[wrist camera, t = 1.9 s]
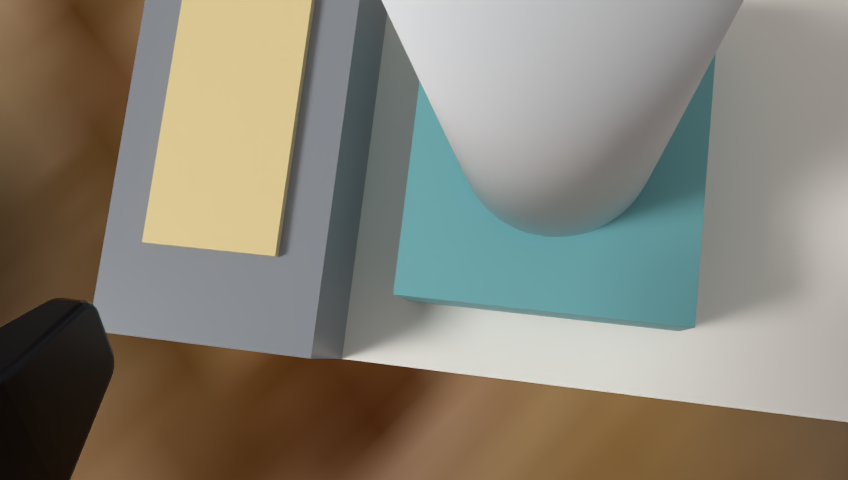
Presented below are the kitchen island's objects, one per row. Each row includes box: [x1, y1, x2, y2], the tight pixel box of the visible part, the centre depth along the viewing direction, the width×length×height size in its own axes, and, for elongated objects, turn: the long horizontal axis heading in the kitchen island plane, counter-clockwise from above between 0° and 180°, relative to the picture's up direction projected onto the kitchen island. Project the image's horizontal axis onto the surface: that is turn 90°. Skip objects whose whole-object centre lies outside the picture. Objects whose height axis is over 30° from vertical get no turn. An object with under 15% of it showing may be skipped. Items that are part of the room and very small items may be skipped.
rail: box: [93, 0, 848, 422], centre depth 17 cm, size 30×10×4 cm, turn 83°
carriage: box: [382, 0, 744, 331], centre depth 12 cm, size 6×7×13 cm
